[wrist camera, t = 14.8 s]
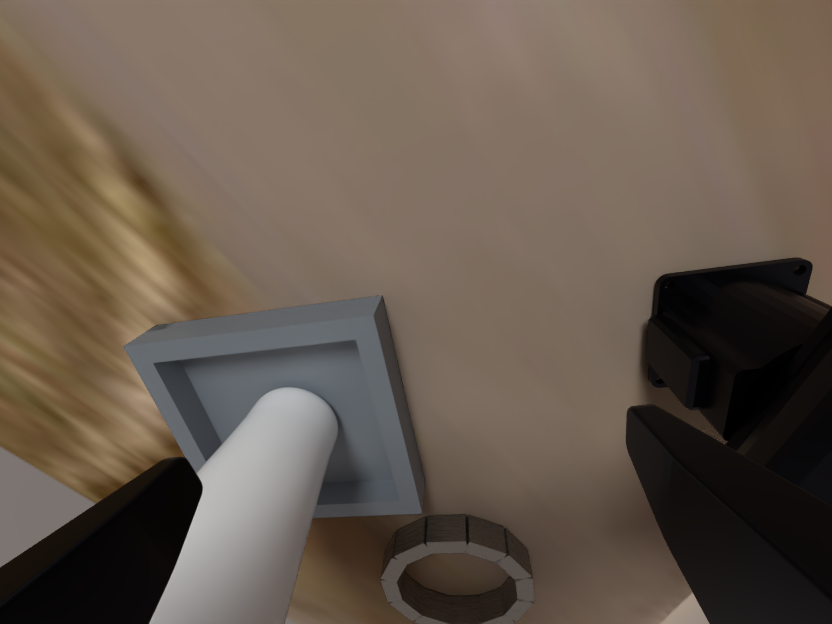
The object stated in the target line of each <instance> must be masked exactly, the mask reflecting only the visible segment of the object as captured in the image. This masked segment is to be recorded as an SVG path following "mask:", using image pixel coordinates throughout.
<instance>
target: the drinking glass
mask: <svg viewBox="0 0 832 624" xmlns="http://www.w3.org/2000/svg"><path fill="white" fill-rule="evenodd" d="M337 436H338V422H337V418H336V416H335V413H334V411H333V410H332V408H331V407H330V406H329V405H328V403H327V402H326V401H324V400H323V399H322V398H321V397H319V396H318V395H316V394H314V393H312V392H310V391H308V390H305V389H301V388H295V387H283V388H278V389H274V390H272V391H270V392H268V393H266V394H265V395H263V396H262V397H261V398H260V399H259V400H258V401H257V402H256V403H255V405H254V406H253V407H252V409H251V410H250V412H249V413H248V414H247V416H246V417H245V418H244V420H243V421H242V422H241V423H240V424H239V425H238V426H237V428H236V429H235V430H234V431H233V432H232V433H231V434H230V436H229V437H228V438H227V439H226V440H225V441H224V442H223V443H222V445H221V446H220V447H219V448H218V449H217V450H216V451H215V452H214V454H213V455H212V456H211V457H210V458H209V459H208V460H207V461H206V463H205V464H204V465H203V466H202V467H201V468H200V469H199V470H198V471H197V473H196V474H197V475H198V477H199V478H200V480H201V482H202V485H203V492H202V496H201V499H200V501H199V504H198V507H197V510H196V512H195V515H194V518H193V520H192V523H191V526H190V528H189V531H188V534H187V537H186V539H185V542H184V545H183V547H182V550H181V553H180V555H179V558H178V561H177V563H176V566H175V568H174V571H173V573H172V575H171V577H170V580H169V582H168V584H167V586H166V588H165V591H164V593H163V595H162V597H161V599H160V601H159V604H158V606H157V608H156V610H155V612H154V614H153V616H152V619H151V621H150V623H149V624H285V620H286V617H287V613H288V609H289V606H290V602H291V599H292V595H293V591H294V587H295V584H296V580H297V576H298V572H299V569H300V565H301V561H302V557H303V554H304V550H305V546H306V542H307V539H308V535H309V531H310V527H311V524H312V520H313V516H314V513H315V509H316V505H317V502H318V498H319V494H320V491H321V487H322V483H323V480H324V476H325V473H326V469H327V466H328V462H329V459H330V456H331V453H332V451H333V448H334V445H335V443H336V440H337Z"/></svg>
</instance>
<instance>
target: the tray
mask: <svg viewBox="0 0 832 624" xmlns="http://www.w3.org/2000/svg"><path fill="white" fill-rule="evenodd" d="M123 347H124V349H125V350H126V352H127V354H128V356H129V357H130V359H131V361H132V363H133V365H134V366H135V368H136V370H137V372H138V373H139V375H140V377H141V379H142V380H143V382H144V384H145V386H146V388H147V389H148V391H149V393H150V395H151V396H152V398H153V400H154V402H155V404H156V405H157V407H158V409H159V411H160V412H161V414H162V416H163V418H164V420H165V421H166V423H167V425H168V427H169V428H170V430H171V432H172V434H173V436H174V437H175V439H176V441H177V443H178V444H179V446H180V448H181V450H182V452H183V453H184V455H185V457H186V459H188V461H189V462H190V464H191V465H192V467H193V469H194V470H195V472H196V473H197V471H198V470H199V469H200V468H201V467H202V466H203V465H204V464H205V463H206V461H207V460H208V459H209V458H210V457H211V456H212V455H213V454H214V452H215V451H216V450H217V449H218V448H219V447H220V446H221V445H222V443H223V442H224V441H225V440H226V439H227V438H228V437H229V436H230V434H231V433H232V432H233V431H234V430H235V429H236V428H237V426H238V425H239V424H240V423H241V422H242V421H243V420H244V418H245V417H246V416H247V414H248V413H249V412H250V410H251V409H252V407H253V406H254V405H255V403H256V402H257V401H258V400H259V399H260V398H261V397H262V396H263V395H265V394H266V393H268V392H270V391H272V390H274V389H278V388H283V387H295V388H301V389H305V390H308V391H310V392H312V393H314V394H316V395H318V396H319V397H321V398H322V399H323V400H324V401H326V402H327V403H328V405H329V406H330V407H331V408H332V410H333V411H334V413H335V416H336V418H337V422H338V436H337V440H336V443H335V445H334V448H333V451H332V453H331V456H330V459H329V462H328V466H327V469H326V473H325V476H324V480H323V483H322V487H321V491H320V494H319V498H318V502H317V505H316V509H315V513H314V516H313V518H327V517H352V516H377V515H402V514H422V510H423V498H424V486H425V479H424V475H423V471H422V466H421V462H420V458H419V453H418V449H417V445H416V440H415V436H414V431H413V427H412V423H411V418H410V414H409V410H408V405H407V401H406V397H405V392H404V388H403V384H402V379H401V375H400V371H399V366H398V362H397V358H396V353H395V349H394V345H393V340H392V336H391V332H390V327H389V323H388V319H387V314H386V310H385V306H384V301H383V297H382V296H374V297H366V298H359V299H351V300H344V301H336V302H329V303H321V304H314V305H306V306H298V307H291V308H283V309H276V310H268V311H261V312H253V313H245V314H238V315H230V316H223V317H215V318H208V319H200V320H192V321H185V322H177V323H170V324H162V325H156V326H154V327H153V328H151V329H149V330H148V331H146V332H145V333H143V334H142V335H140V336H139V337H137V338H136V339H134V340H133V341H131V342H129V343H128V344H126V345H125V346H123Z"/></svg>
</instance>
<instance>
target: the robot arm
mask: <svg viewBox="0 0 832 624" xmlns="http://www.w3.org/2000/svg"><path fill="white" fill-rule="evenodd" d="M798 266H799V269H798V270H797V271H796V272H794V270H795V268H796V267H798ZM812 266H813V265H812V263H811V262H809V261H807V260H805V259H802V258H788V259H780V260H772V261H764V262H756V263H748V264H740V265H732V266H725V267H717V268H709V269H701V270H693V271H685V272H677V273H669V274H665V275H662V276H661V277H659V279H658V280H657V282H656V286H655V298H654V310H653V315H652V316H651V318H650V319H649V322H648V334H647V346H646V361H647V362H648V363H649V368H648V380H649V381H650V382H651V384H652V385H653V386H655V387H658V388H662V387H669V388H670V390H671V391H672V392H673V393H674V394H675V396H676V397H677V398H678V399H679V400H680V401H681V403H682V404H683V405H684V406H685V407H687V408H688V409H689V410H699V411H700V412H701V414H702V415H703V416H704V417H705V418H706V419H707V420H708V422H709V423H710V424H711V425H712V426H713V427H714V428H715V430H716V431H717V432H718V433H719V434H720V435H721V436H722V438H723V439H725V440H726V441H728V442H727V443H726V444H725V445H724V444H723V443H721V442H719V441H717V440H716V439H714V438H712V437H710V436H709V435H707V434H705V433H703V432H702V431H700V430H698V429H696V428H694V427H693V426H691V425H689V424H687V423H686V422H684V421H682V420H680V419H679V418H677V417H675V416H673V415H672V414H670V413H668V412H666V411H665V410H663V409H661V408H659V407H657V406H655V405H652V404H647V405H638V406H631V407H630V408H628V410H627V420H626V446H627V450H628V453H629V456H630V458H631V460H632V463H633V465H634V468H635V470H636V473H637V475H638V477H639V480H640V482H641V485H642V487H643V489H644V492H645V494H646V497H647V499H648V502H649V504H650V506H651V509H652V511H653V514H654V516H655V518H656V521H657V523H658V526H659V528H660V530H661V532H662V535H663V537H664V539H665V541H666V543H667V545H668V547H669V549H670V551H671V553H672V555H673V557H674V558H675V560H676V562H677V564H678V566H679V568H680V570H681V571H682V573H683V575H684V577H685V579H686V581H687V583H688V584H689V586H690V588H691V590H692V592H693V594H694V595H695V597H696V599H697V601H698V603H699V605H700V607H701V608H702V610H703V612H704V614H705V616H706V618H707V620H708V621H709V623H710V624H832V306H830V305H828V304H826V303H824V302H821V301H819V300H817V299H815V298H813V297H811V296H808V295H806V292H807V288H808V284H809V280H810V276H811V273H812ZM670 281H672V285H671V286H670V287H668V288H665V285H666V284H667V283H668V282H670ZM658 377H660V379H658V380H656V379H657V378H658ZM202 492H203V485H202V482H201V480H200V478H199V477H198V475H197V474H196V472H195V470H194V469H193V467H192V465H191V464H190V462H189V461H188V459H186V458H185V457H173V458H167V459H164V460H162V461H160V462H158V463H157V464H155V465H154V466H152V467H151V468H149V469H148V470H146V471H145V472H143V473H142V474H140V475H139V476H137V477H136V478H134V479H133V480H131V481H130V482H128V483H127V484H125V485H124V486H122V487H121V488H119V489H118V490H116V491H115V492H113V493H112V494H110V495H109V496H107V497H106V498H104V499H103V500H101V501H100V502H98V503H97V504H95V505H94V506H92V507H91V508H89V509H88V510H86V511H85V512H83V513H82V514H80V515H79V516H77V517H76V518H74V519H73V520H71V521H70V522H69V523H67V524H65V525H64V526H62V527H61V528H59V529H58V530H56V531H55V532H53V533H52V534H50V535H49V536H47V537H46V538H44V539H42V540H41V541H39V542H38V543H37V544H35V545H33V546H32V547H31V548H29V549H28V550H26V551H24V552H23V553H22V554H20V555H19V556H17V557H15V558H14V559H12V560H11V561H10V562H8V563H6V564H5V565H3V566H2V567H0V624H149V623H150V621H151V619H152V616H153V614H154V612H155V610H156V608H157V606H158V604H159V601H160V599H161V597H162V595H163V593H164V591H165V588H166V586H167V584H168V582H169V580H170V577H171V575H172V573H173V571H174V568H175V566H176V563H177V561H178V558H179V555H180V553H181V550H182V547H183V545H184V542H185V539H186V537H187V534H188V531H189V528H190V526H191V523H192V520H193V518H194V515H195V512H196V510H197V507H198V504H199V501H200V499H201V496H202Z"/></svg>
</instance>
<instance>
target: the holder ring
mask: <svg viewBox="0 0 832 624" xmlns="http://www.w3.org/2000/svg"><path fill="white" fill-rule="evenodd" d="M438 553H467V554H470V555H473V556H476V557H480V558H483V559H486V560H489V561H492V562H495V563H497V564H498V565H499V566H500V567H501V568H502V569H503V570H505V571H506V572H507V573H508V574H509V575H510V577H509V578H508V579H507V580H506V582H505V583H504V584H503V585H502V586H501V587H500V588H497V589H495V590H492V591H489V592H487V593H484V594H481V595H479V596H448V595H444V594H441V593H438V592H435V591H432V590H429V589H425V588H423V587H422V586H421V585H419V584H418V583H417V582H416V581H415V580H413V579H412V578H411V577H410V576H408V575H407V574H406V573H405V570H404V569H405V567H406V565H407V564H410V563H412V562H414V561H416V560H419V559H421V558H423V557H425V556H428V555H430V554H438ZM380 581H381V584H382V586H383V589H384V592H385V595H386V598H387V601H388V602H389V604H390V605H392V606H393V607H394V608H395V609H397V610H398V611H399V612H401V613H402V614H403V615H405V616H406V617H407V618H408V619H410V620H411V621H413V620H414V622H415V623H418V624H513V623H515V621H518V620H519V619H520V618H521V617H522V616H523V615H524V614H525V613H526V611H527V610H528V609H529V608H530V607H531V606H532V605H533V604H534V601H535V599H534V587H533V577H532V571H531V565H530V560H529V554H528V550H527V548H526V547H525V546H524V545H523V544H522V543H521V542H520V541H519V540H518V539H517V538H516V537H515V536H514V535H513V534H512V533H511V532H510V531H509V530H507V529H506V528H504V529H503V526H501V525H498V524H495V523H492V522H489V521H486V520H483V519H480V518H476V517H473V516H470V515H468V516H467V518H466V516H465V514H463V515H438V516H428V519H427V518H426V517H423V518H421V519H419V520H417V521H415V522H413V523H411V524H409V525H407V526H405V527H403V528H401V529H399V530H398V531H397V532H395V534H394V536H393V538H392V540H391V542H390V543H389V545H388V547H387V549H386V551H385V555H384V561H383V567H382V573H381V580H380Z"/></svg>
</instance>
